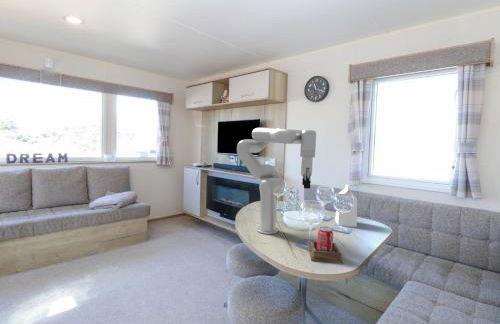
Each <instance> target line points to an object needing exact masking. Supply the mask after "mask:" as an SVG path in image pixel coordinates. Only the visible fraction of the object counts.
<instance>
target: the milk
mask: <svg viewBox="0 0 500 324" xmlns="http://www.w3.org/2000/svg"><path fill="white" fill-rule="evenodd" d="M338 194H349V195H353V197H354V207H353V209H352V210H351V211H350V212H347V213H343V214H342V213H341V212H340V211H339V212H338V211H336V210H335V218H334V220H335V222H336V224H337V226H339V227H340V226H341V227H353V228H357V227H358V226H357V225H358V222H357V221H358V218H357V217H358V198H357V196H356V195H355V193H353V192H352V191H351V185H350V184H345V188H343V189H342V190H340V191H339V193H338Z"/></svg>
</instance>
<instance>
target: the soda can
mask: <svg viewBox="0 0 500 324" xmlns="http://www.w3.org/2000/svg"><path fill="white" fill-rule="evenodd" d="M316 242H317V251H325V252H332V246H333V243H334V232H333V229H332V228H331V227H330V226H329V227H328V226H320V227H319V229H318V231H317V239H316Z"/></svg>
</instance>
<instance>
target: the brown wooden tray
mask: <svg viewBox="0 0 500 324" xmlns="http://www.w3.org/2000/svg"><path fill="white" fill-rule="evenodd" d="M308 248H309V249H308V252H309V256H310V261H312V262H322V263H323V262H324V263H333V264H336V263H337V264H344V259H343V258H342V252H341V251H340V249H339V247H338V245H337V243H336V242H333V246H332V252H325V251H317V241H313V240H312V241H310V245H309V246H308Z"/></svg>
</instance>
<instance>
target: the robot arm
mask: <svg viewBox="0 0 500 324" xmlns="http://www.w3.org/2000/svg"><path fill="white" fill-rule="evenodd" d="M251 137H252V139H248V138H247V139H246V138H245V139H242V140H240V141H239V142H238V143H237V146H236V154H237V156H238V158H239V160H240V161H241V162H242V163H243V164H244V166H245V168H247V170H248V172H250V174H251V175H252V177H253V178H254V179H255V180H256V181H260V183H259V193H260V202H259V203H260V204H259V205H260V206H259V207H260V211H259V212H260V213H259V226H257V228H256V231H257V232H258V233H261V234H264V235H274V234H277V233H278V232H279V228H278V227H277V203H278V202H277V197H276V194H279V193H281V192H283V191H284V190H285V189H286V182H285V180H284V177H282V175H281V174H280V173H279V171H277V169H276V168H275V167H274V166H273V165H271V164H269V163H267V164H266V163H261V162H260V160H259V159H258V158H257V157H256V156H255V155H253V154H257V153H260V152H261V151H262V150H264V148H266V147H267V146H268V144H269V143H273V144H275V143H276V144H286V145H287V144H289V145H300V154H299V155H300V158H301V166H300V175H301V176H302V183H301V185H302V186H303V188H304V189H308V190H309V189H311V177H312V175H313V161H314V158H316V143H317V131H316V130H311V129H306V130H304V129H303V130H301V129H290V128H288V129H287V128H286V129H285V128H277V127H256V128H254V129H253V130H252V132H251Z"/></svg>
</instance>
